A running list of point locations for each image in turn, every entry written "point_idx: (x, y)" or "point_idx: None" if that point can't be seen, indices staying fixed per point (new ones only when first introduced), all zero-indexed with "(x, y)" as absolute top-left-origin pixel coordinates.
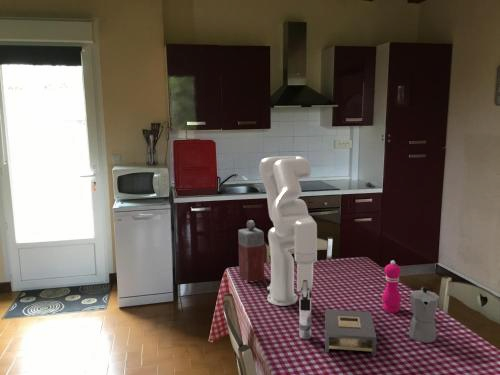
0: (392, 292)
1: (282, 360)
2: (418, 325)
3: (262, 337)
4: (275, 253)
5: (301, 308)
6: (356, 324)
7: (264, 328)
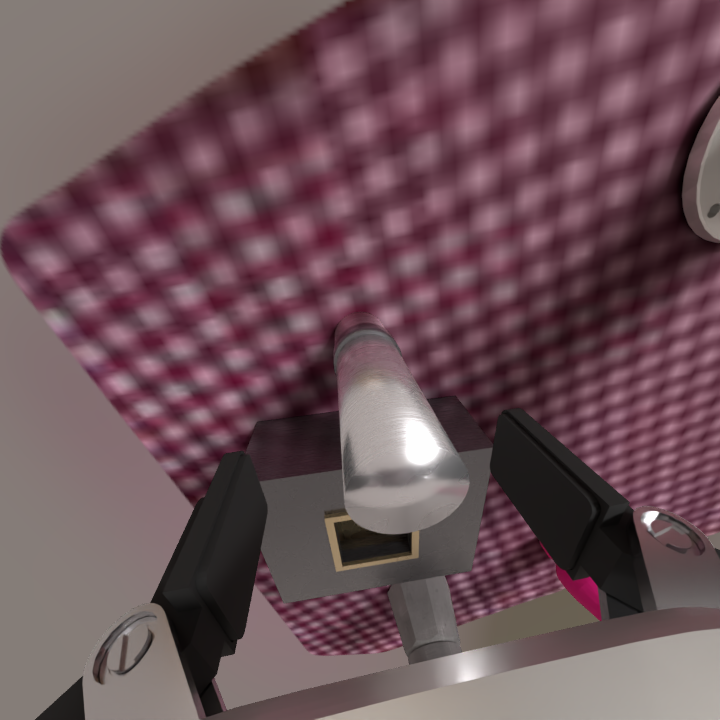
0: (596, 610)
1: (104, 271)
2: (408, 633)
3: (288, 86)
4: None
5: (222, 471)
6: None
7: (406, 76)
